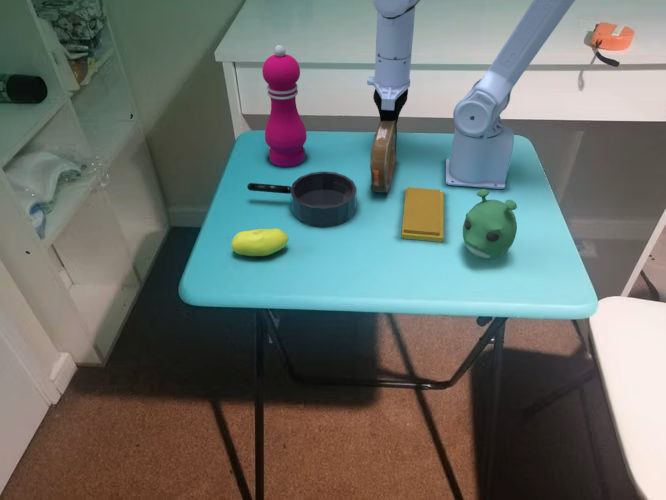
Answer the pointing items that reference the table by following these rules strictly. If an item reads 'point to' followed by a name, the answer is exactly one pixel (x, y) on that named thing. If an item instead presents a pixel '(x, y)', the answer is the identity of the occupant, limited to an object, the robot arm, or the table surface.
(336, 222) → the pan
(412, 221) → the yellow flat slab
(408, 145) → the table surface
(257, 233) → the lemon
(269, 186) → the pan handle
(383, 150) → the tin
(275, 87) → the pepper mill
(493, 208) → the alien toy
